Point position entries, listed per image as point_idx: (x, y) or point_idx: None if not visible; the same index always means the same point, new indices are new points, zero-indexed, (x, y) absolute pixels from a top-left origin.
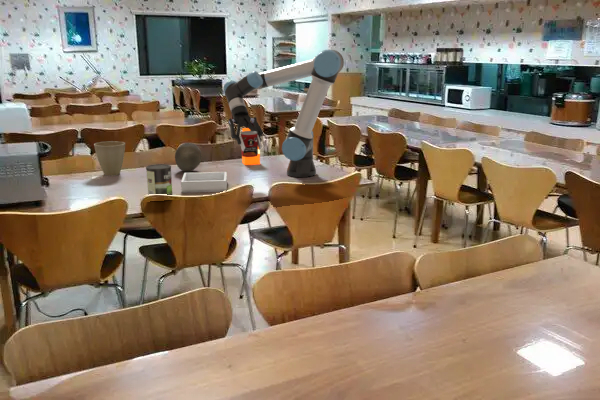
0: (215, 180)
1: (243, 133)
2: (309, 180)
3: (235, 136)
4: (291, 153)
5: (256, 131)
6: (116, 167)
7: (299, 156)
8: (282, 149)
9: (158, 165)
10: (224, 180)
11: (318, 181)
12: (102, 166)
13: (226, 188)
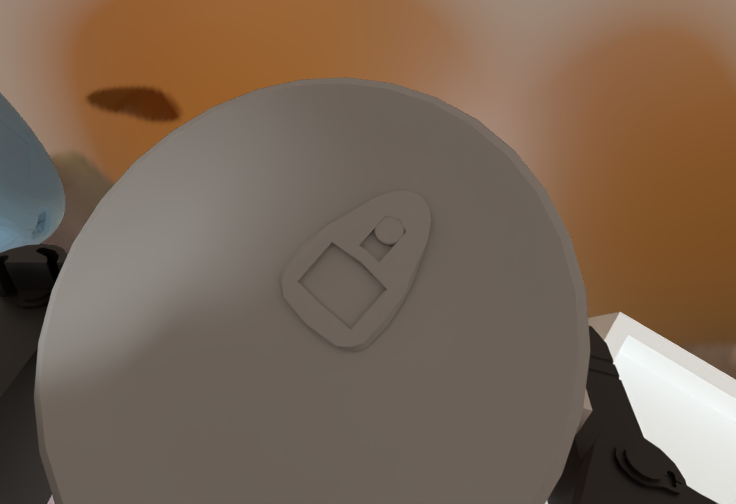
0: (690, 370)
1: (570, 259)
2: (71, 225)
3: (704, 499)
4: (21, 151)
5: None
6: None
7: (18, 113)
8: (15, 209)
9: None
10: (627, 326)
11: (61, 181)
12: None
13: (589, 322)
